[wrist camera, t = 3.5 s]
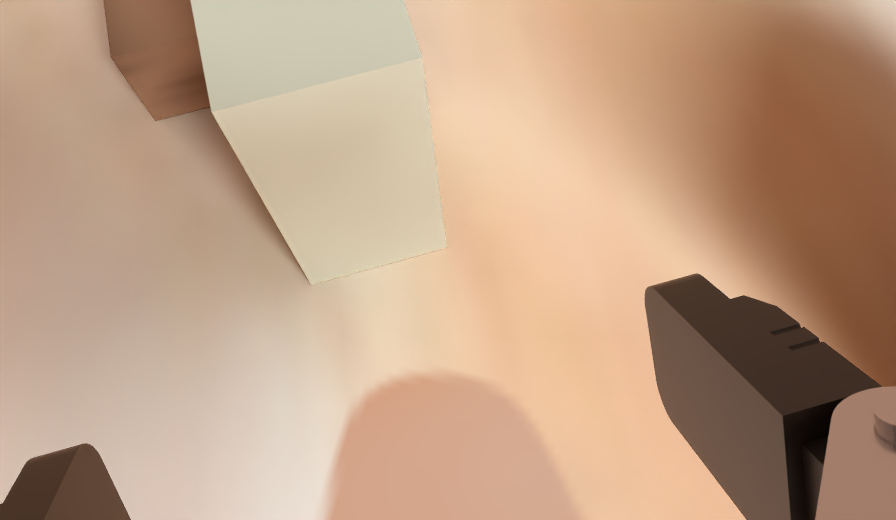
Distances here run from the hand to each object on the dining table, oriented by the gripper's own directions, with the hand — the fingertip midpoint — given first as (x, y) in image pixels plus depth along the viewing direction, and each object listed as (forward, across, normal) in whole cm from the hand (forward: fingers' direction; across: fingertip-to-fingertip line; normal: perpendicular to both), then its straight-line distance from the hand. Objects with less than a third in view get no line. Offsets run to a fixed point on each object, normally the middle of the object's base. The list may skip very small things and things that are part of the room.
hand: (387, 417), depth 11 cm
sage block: (+19, 0, +3) cm, 19 cm away
